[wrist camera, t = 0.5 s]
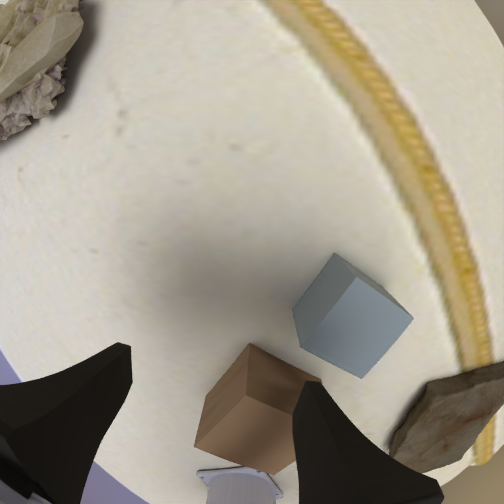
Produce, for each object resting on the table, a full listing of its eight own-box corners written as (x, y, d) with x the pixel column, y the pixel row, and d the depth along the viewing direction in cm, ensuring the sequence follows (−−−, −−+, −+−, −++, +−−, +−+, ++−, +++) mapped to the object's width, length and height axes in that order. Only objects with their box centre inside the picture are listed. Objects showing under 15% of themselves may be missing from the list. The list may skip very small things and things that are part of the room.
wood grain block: (320, 378, 22) (334, 430, 16) (272, 425, 23) (273, 474, 18) (249, 342, 21) (245, 395, 15) (206, 395, 23) (193, 446, 17)
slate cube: (384, 288, 20) (414, 318, 15) (343, 339, 21) (361, 378, 16) (334, 252, 19) (356, 276, 14) (292, 309, 20) (300, 347, 15)
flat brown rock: (511, 355, 22) (530, 372, 18) (465, 437, 26) (476, 455, 21) (411, 376, 22) (429, 404, 18) (367, 463, 26) (375, 488, 22)
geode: (136, 55, 20) (48, 12, 16) (138, -14, 11) (33, -42, 7) (19, 204, 18) (-53, 133, 14) (-41, 188, 9) (-100, 106, 5)
